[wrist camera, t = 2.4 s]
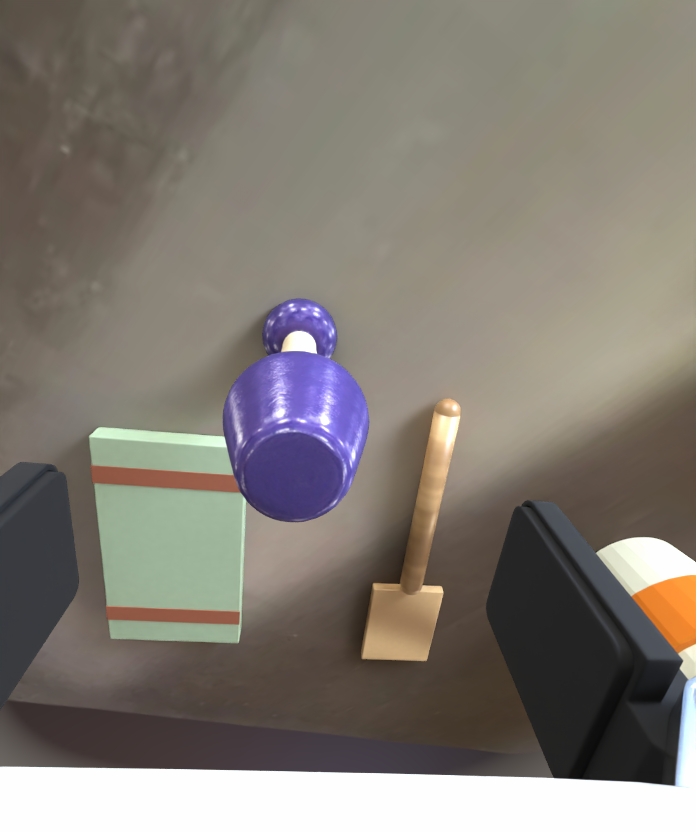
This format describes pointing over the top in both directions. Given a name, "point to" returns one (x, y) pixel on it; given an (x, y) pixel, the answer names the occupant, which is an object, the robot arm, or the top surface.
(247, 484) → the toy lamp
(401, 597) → the wooden spatula
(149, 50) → the top surface
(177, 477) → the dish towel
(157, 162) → the top surface
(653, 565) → the reusable coffee cup
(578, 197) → the top surface
